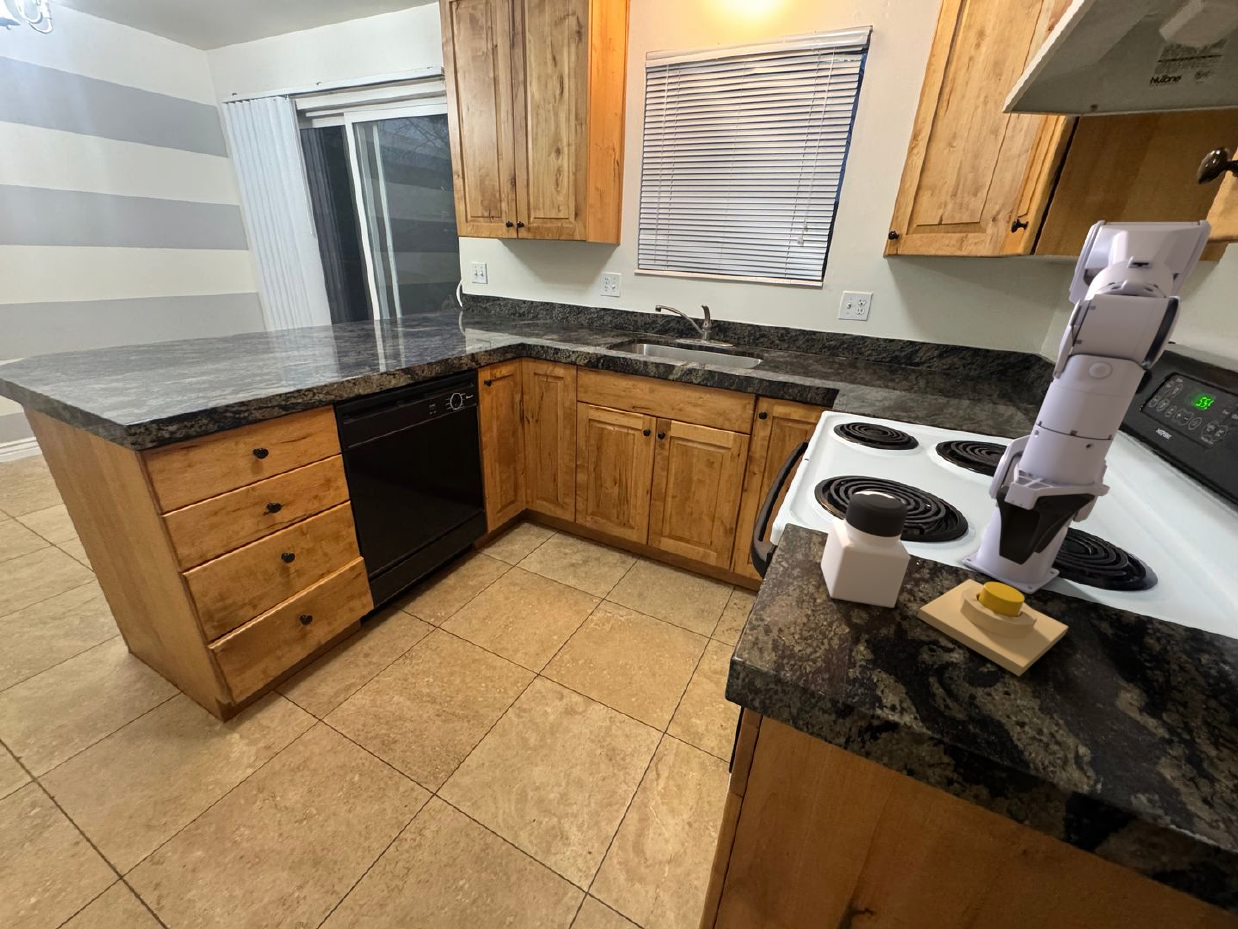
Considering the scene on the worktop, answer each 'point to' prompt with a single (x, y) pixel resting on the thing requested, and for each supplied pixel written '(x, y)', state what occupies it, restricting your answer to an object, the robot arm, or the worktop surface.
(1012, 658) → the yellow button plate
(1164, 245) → the robot arm
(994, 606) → the button
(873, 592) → the medicine bottle
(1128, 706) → the worktop surface
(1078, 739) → the worktop surface
